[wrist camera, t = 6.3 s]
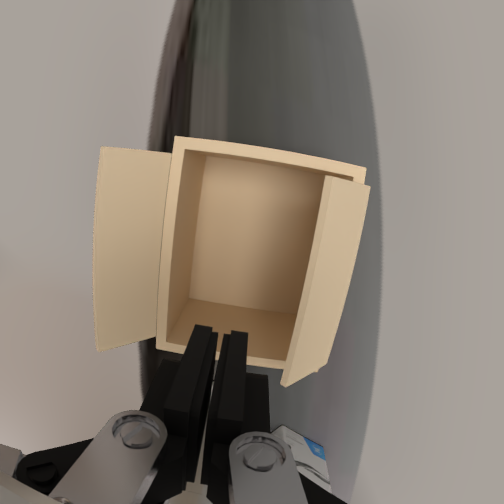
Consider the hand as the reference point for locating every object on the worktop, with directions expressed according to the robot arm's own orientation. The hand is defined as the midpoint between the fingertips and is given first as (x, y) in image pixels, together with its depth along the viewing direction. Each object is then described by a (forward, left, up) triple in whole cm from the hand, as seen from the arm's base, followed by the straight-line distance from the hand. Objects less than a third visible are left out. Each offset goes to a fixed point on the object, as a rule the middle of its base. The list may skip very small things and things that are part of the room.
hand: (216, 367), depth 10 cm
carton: (+1, -1, -23) cm, 23 cm away
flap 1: (-5, +5, -10) cm, 13 cm away
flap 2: (+4, -4, -11) cm, 12 cm away
